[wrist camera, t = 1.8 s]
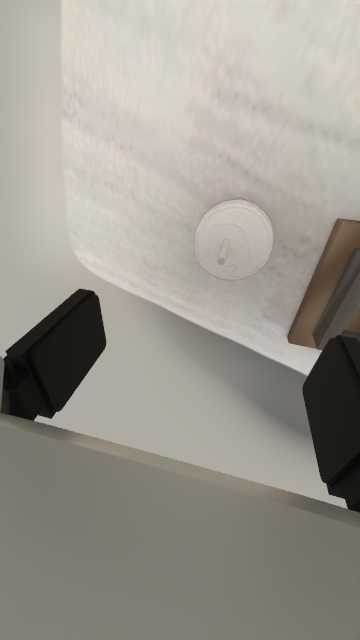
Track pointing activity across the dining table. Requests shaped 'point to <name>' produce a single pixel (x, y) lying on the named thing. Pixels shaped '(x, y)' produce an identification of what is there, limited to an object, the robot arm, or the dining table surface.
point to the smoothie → (233, 240)
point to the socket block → (332, 292)
